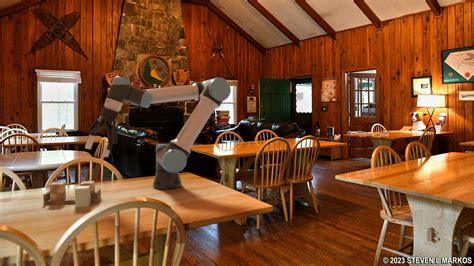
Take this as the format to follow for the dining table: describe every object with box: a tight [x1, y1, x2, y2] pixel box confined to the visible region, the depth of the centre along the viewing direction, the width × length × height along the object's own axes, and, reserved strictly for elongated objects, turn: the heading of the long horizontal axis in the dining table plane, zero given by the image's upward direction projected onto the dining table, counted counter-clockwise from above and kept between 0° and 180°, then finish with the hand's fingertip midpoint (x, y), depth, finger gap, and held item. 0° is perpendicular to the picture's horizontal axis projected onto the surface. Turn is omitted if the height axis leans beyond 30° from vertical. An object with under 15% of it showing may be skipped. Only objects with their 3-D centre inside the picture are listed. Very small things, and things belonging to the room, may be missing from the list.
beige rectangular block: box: [74, 185, 92, 208], centre depth 153 cm, size 5×5×8 cm
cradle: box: [42, 180, 102, 206], centre depth 159 cm, size 22×8×8 cm, turn 100°
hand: (96, 152), depth 164 cm, fingers open, 13 cm apart
